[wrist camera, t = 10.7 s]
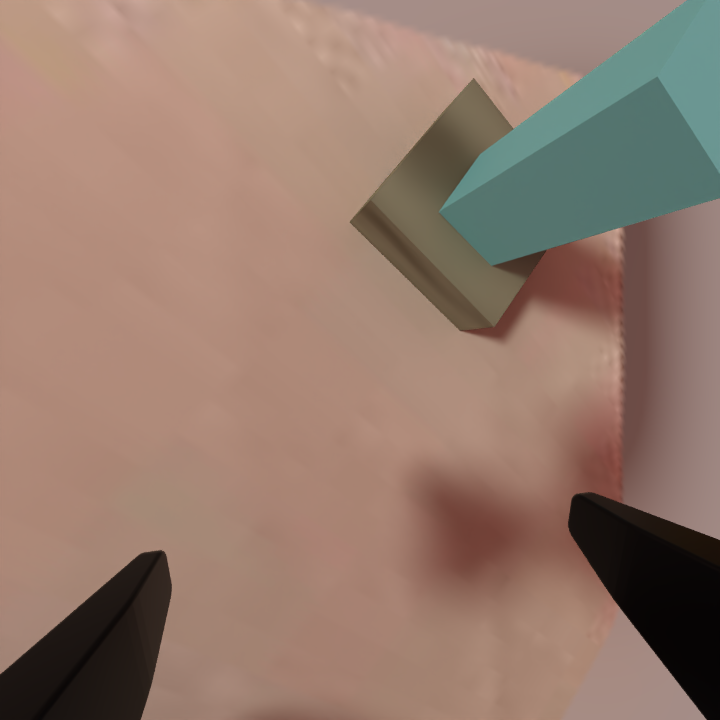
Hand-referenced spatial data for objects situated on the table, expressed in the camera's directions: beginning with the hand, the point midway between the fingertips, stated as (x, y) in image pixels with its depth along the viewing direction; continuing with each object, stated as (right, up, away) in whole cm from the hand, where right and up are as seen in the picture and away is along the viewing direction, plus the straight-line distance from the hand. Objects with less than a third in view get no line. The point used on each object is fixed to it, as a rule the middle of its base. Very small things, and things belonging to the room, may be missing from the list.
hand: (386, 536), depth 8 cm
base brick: (+5, +12, +15) cm, 20 cm away
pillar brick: (+6, +12, +11) cm, 17 cm away
